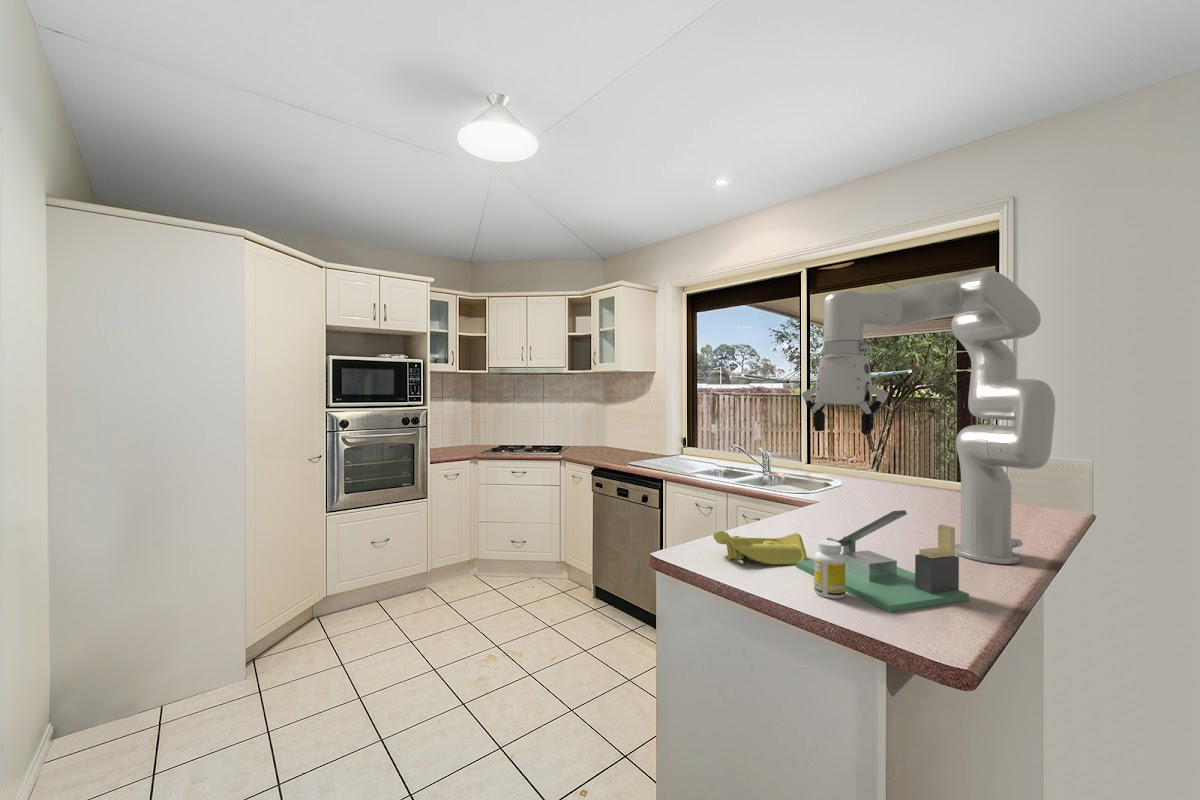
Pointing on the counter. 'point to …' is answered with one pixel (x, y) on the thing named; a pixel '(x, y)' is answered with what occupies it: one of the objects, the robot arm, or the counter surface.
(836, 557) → the supplement bottle
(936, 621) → the counter surface
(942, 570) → the block
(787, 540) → the plastic component
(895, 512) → the dark grey flat bar
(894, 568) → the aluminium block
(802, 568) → the board
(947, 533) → the bracket
